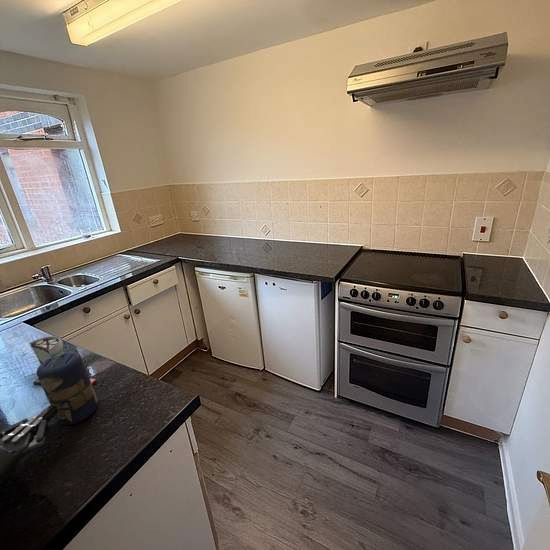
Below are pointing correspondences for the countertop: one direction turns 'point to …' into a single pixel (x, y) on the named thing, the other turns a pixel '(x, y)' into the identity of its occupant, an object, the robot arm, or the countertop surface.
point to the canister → (68, 387)
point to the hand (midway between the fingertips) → (54, 408)
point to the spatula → (40, 383)
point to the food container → (47, 348)
